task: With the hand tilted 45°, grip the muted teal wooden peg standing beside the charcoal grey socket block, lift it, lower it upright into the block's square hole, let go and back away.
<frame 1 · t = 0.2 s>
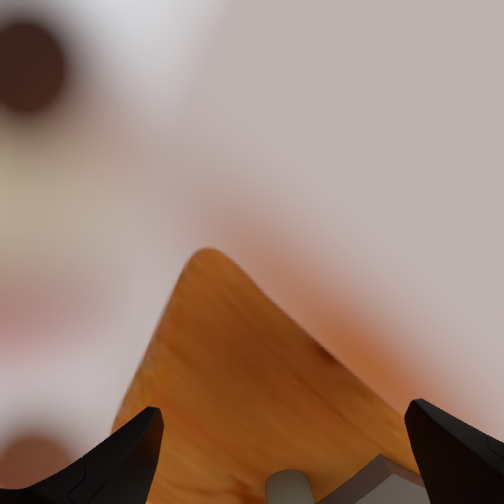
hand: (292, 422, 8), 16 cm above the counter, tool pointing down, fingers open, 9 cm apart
teal peg: (287, 483, 24), on the counter
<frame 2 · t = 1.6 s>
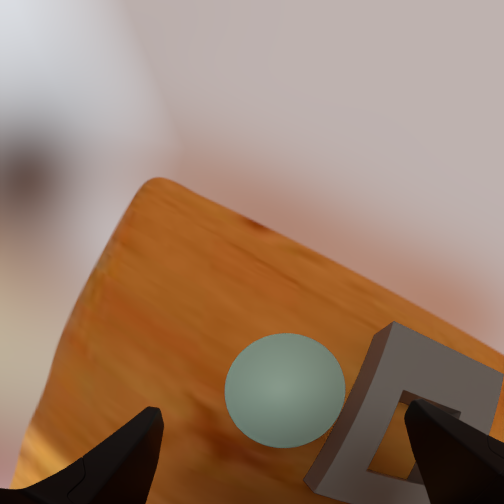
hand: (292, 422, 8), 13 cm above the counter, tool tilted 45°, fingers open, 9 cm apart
teal peg: (267, 399, 21), on the counter
socket block: (395, 439, 18), on the counter
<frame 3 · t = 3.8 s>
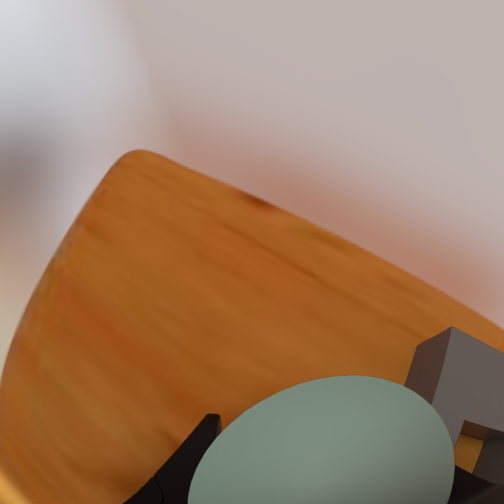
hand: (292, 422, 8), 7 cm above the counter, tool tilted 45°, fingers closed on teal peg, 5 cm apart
teal peg: (274, 440, 13), on the counter, touching gripper
socket block: (440, 477, 11), on the counter
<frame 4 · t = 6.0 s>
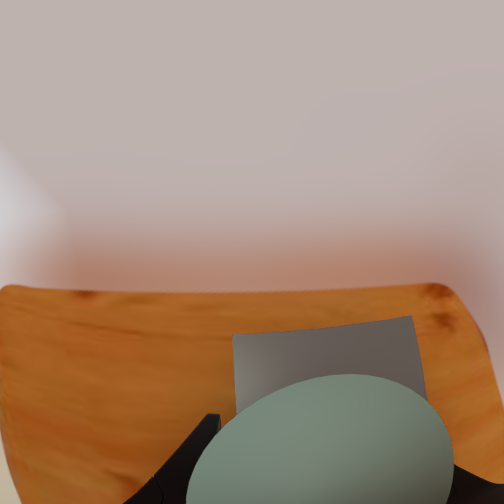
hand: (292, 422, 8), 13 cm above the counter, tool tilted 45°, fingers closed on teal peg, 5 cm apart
teal peg: (274, 440, 13), point 7 cm above the counter, touching gripper
socket block: (316, 434, 19), on the counter
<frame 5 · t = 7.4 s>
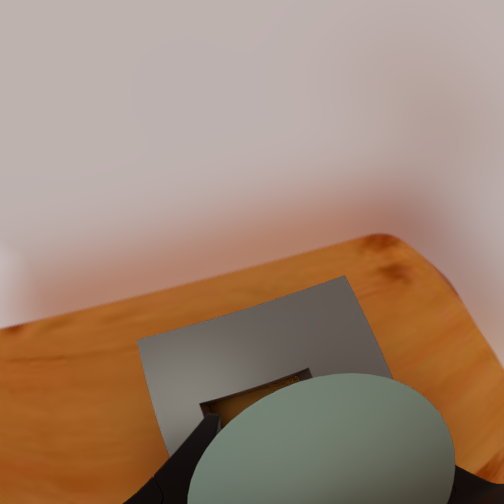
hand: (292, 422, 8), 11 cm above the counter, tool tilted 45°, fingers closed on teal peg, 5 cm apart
teal peg: (274, 440, 13), point 4 cm above the counter, touching gripper
socket block: (269, 432, 17), on the counter
when the fingers open (8 cm above the counter, at t = 8.4 s): teal peg drops 1 cm, resting in socket block.
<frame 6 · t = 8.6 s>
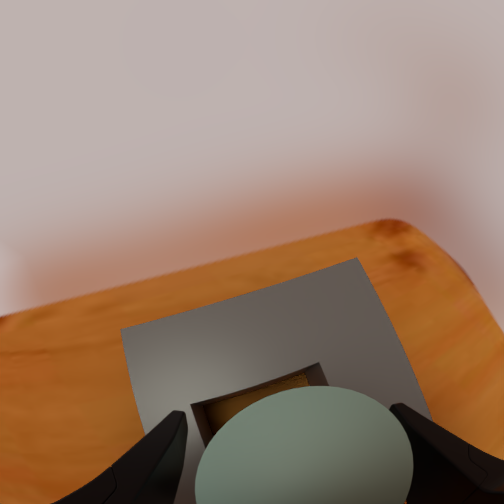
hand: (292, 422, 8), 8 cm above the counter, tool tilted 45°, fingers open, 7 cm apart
teal peg: (272, 438, 15), resting in socket block
socket block: (272, 438, 15), on the counter
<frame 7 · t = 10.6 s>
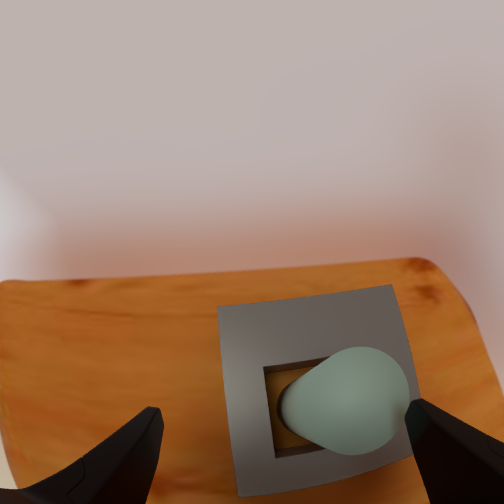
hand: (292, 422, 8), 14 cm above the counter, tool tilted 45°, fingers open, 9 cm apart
teal peg: (306, 406, 20), resting in socket block
socket block: (306, 406, 20), on the counter
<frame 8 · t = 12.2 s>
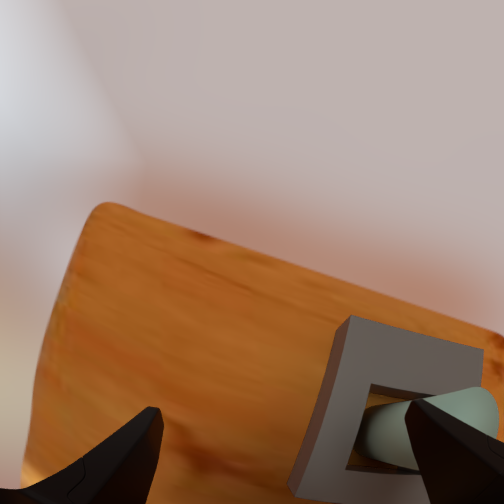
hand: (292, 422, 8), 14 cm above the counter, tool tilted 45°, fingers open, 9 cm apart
teal peg: (376, 431, 19), resting in socket block
socket block: (376, 431, 19), on the counter
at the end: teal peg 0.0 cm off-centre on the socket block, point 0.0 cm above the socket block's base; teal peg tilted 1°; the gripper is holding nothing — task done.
